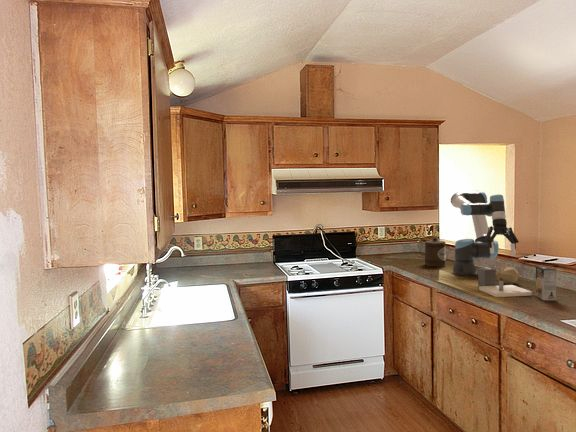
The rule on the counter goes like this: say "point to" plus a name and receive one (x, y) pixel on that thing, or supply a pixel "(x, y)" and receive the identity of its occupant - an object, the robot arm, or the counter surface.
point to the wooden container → (435, 253)
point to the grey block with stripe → (486, 276)
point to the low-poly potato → (507, 275)
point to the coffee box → (546, 282)
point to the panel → (505, 290)
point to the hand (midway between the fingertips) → (503, 254)
